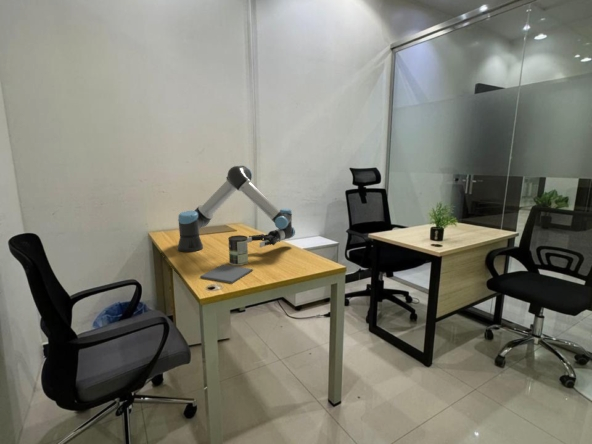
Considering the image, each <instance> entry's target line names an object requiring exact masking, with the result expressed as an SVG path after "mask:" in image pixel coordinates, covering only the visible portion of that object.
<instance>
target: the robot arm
mask: <svg viewBox="0 0 592 444" xmlns="http://www.w3.org/2000/svg"><path fill="white" fill-rule="evenodd" d="M252 178H253V172H252V171H251V169H250V168H249V167H247V166H246V165H234V166H232V167H230V168H229V170H228V172H227V176H226V177H225V179H226V181H224V183H223V184H222V185H221V186H220V187H219V188H218V189H217V190H216V191H215V192H214V193H213V194H212V195H211V196H210V197H209V198H208V199H207V200H206V201H205V203H203V205H198V207H196V209H195V210H186V211H182V212H181V213H179V214H178V220H177V221H178V228H179V229H178V230H179V240H178V244H177V251H179V252H181V253H192V252H193V253H194V252H198V251H201V250H203V248H204V245H203V242H202V239H201V237H200V229H202V228H204V227H207V226H208V225H209V223H210V222H211V220H212V219H213V217H214V214H215V212H217V210H219V208H221V207H222V205H223V204H224V203H225V202H226V201H228V199H230V197H231V196H232V195H233V194H234V193H236V191H238V192H242V194H243V195H245V196H246V197H247V198H248V199H249V200H250V201H251V202H252V203H253V204H254V205H255V206H256V208H257V207H258V209H260V210H261V211H262V212H263V213H264V214H265V215H266V217H268V218H269V219H270V220H271V221H272V222H273V223H274V225H275V227H276V229H274V230H271V231H269V232H268V233H267V234H264V233H260V234H255V235H248V239H247V244H248V243H252V242H255V241H260V242H259V248H263V247H267V246H275V245H276V244H277V243H279V242H281V241H284V240H285V241H286V240H290V239H291V238H293V237H295V235H296V229H295V228H294V227H293V226H292V224H293V223H292V222H293V221H292V215H293V213H292V209H290V208H281V209H279V208H278V207H277V206H275V204H274V203H272V201H270V199H268V198H267V196H265V195H264V194H263V193H262V192H261V191H260V190H259V189H258V188H257V187H256V186H255V185H254V184H253V183H252V182H251V181H252Z"/></svg>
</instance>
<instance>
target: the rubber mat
mask: <svg viewBox="0 0 592 444" xmlns="http://www.w3.org/2000/svg"><path fill="white" fill-rule="evenodd" d="M253 271H254V269H253V268H248V267H242V266H237V265H229V264H221V265H219V266H216V267H215V268H213V269H211V270H209V271H207V272H204V273H203V274H201V275H200V279H204V280H210V281H215V280H216V282H221V281H223V282H222V283H227V282H228V283H229V284H235V282H237V281H238V280H240V278H241V279H242V278H243V277H245V276H247V275H248V274H250V273H252V272H253Z"/></svg>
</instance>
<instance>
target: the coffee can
mask: <svg viewBox="0 0 592 444" xmlns="http://www.w3.org/2000/svg"><path fill="white" fill-rule="evenodd" d="M227 238H228V254H229V255H228V257H229V258H228V259H229V264H230V266H244V265H246V264H248V263H249V257H248V256H249V253H248V252H249V251H248V248H249V247H248V245H249V244H248V243H247V239H248V238H249V236H247V235H237V234H236V235H231V236H229V237H227Z"/></svg>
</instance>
